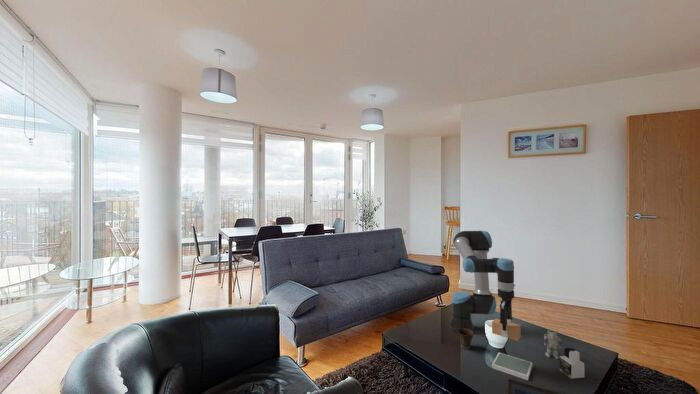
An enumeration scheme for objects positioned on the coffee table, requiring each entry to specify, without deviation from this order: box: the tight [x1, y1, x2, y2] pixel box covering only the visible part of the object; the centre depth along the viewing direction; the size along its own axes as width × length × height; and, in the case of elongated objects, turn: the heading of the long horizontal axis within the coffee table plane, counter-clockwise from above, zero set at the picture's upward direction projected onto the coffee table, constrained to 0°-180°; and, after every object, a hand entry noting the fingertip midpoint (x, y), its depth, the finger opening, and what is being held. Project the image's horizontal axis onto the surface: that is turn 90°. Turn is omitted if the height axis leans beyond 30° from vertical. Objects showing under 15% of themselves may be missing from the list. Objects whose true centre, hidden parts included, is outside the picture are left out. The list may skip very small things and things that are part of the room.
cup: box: [457, 328, 475, 350], centre depth 170 cm, size 9×9×10 cm
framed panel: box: [491, 352, 534, 381], centre depth 150 cm, size 16×14×2 cm
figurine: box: [543, 329, 562, 360], centre depth 158 cm, size 8×8×15 cm
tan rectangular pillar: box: [491, 318, 522, 342], centre depth 150 cm, size 12×6×6 cm, turn 47°
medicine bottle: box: [559, 347, 585, 379], centre depth 144 cm, size 7×7×12 cm
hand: (506, 334), depth 150 cm, fingers closed on tan rectangular pillar, 6 cm apart
